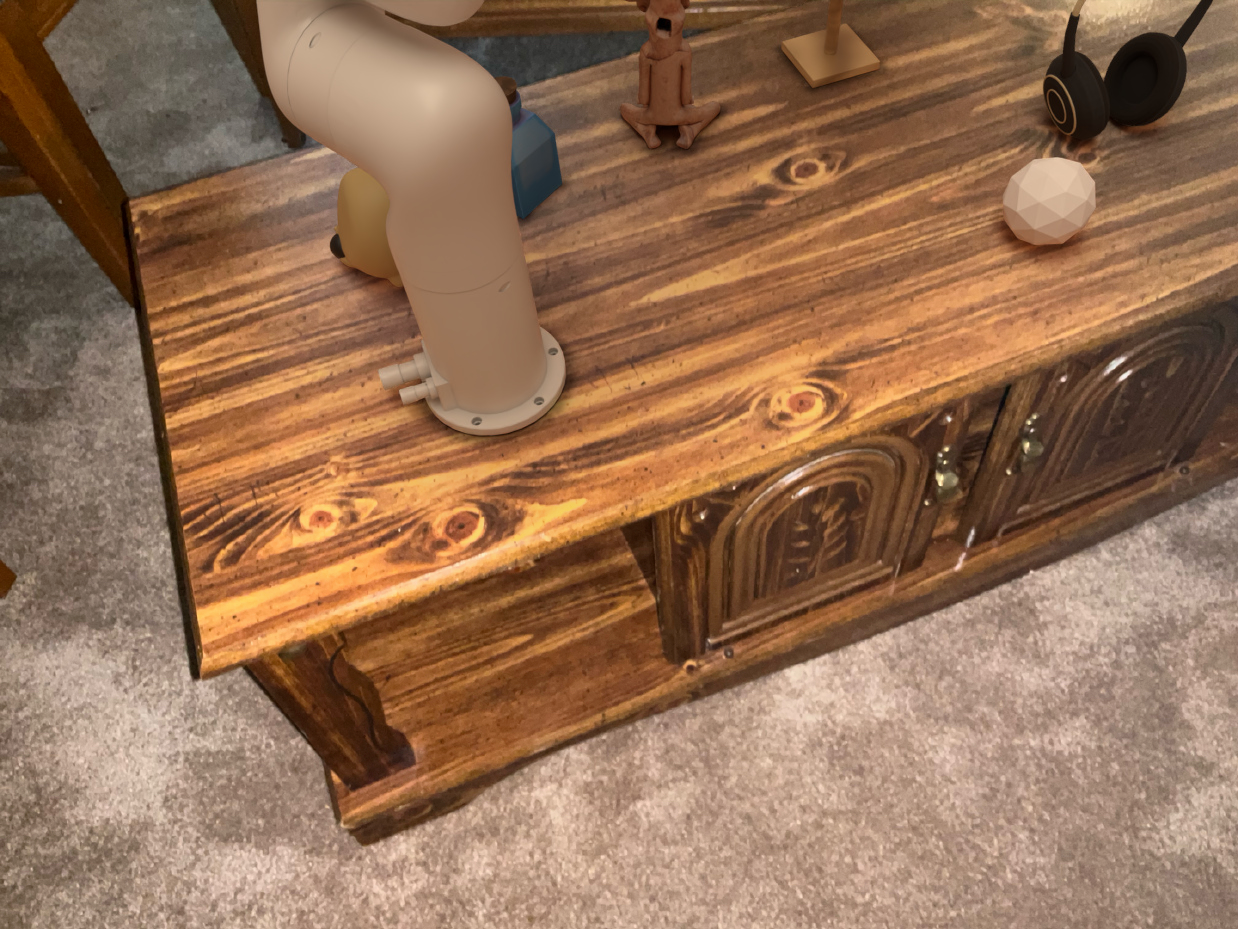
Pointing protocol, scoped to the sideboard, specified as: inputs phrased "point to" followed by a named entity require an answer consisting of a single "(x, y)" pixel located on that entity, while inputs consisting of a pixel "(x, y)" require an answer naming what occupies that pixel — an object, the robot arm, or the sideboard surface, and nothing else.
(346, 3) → the robot arm
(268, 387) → the sideboard surface
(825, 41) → the peg stand
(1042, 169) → the geometric ball
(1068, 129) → the headphones
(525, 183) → the perfume bottle
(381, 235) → the toy pig
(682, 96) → the figurine
